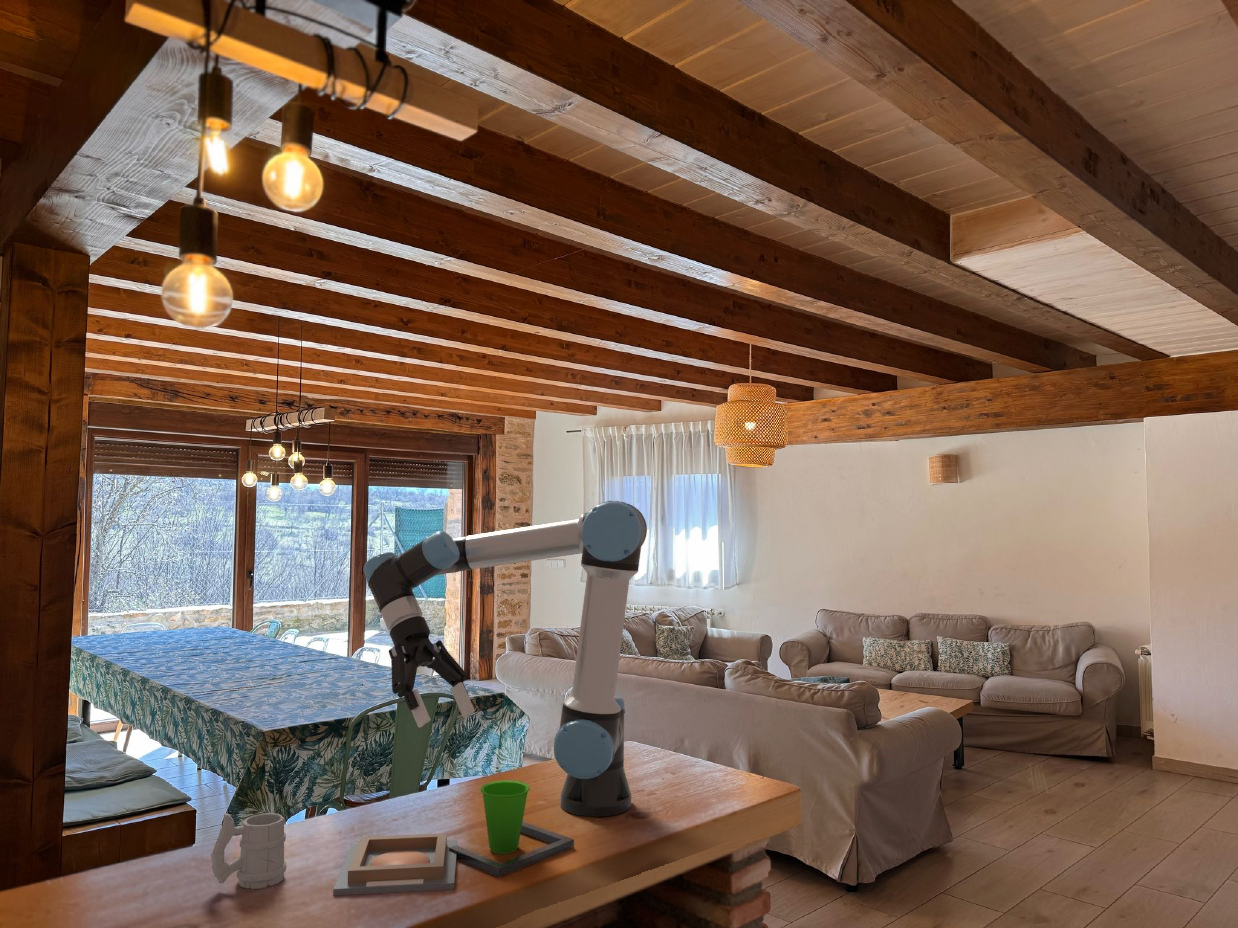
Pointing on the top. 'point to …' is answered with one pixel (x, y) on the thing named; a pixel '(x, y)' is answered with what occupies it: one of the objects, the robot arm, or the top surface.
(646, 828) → the top surface
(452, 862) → the socket board
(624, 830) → the top surface
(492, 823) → the cup
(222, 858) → the mug
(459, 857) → the dark grey u frame
